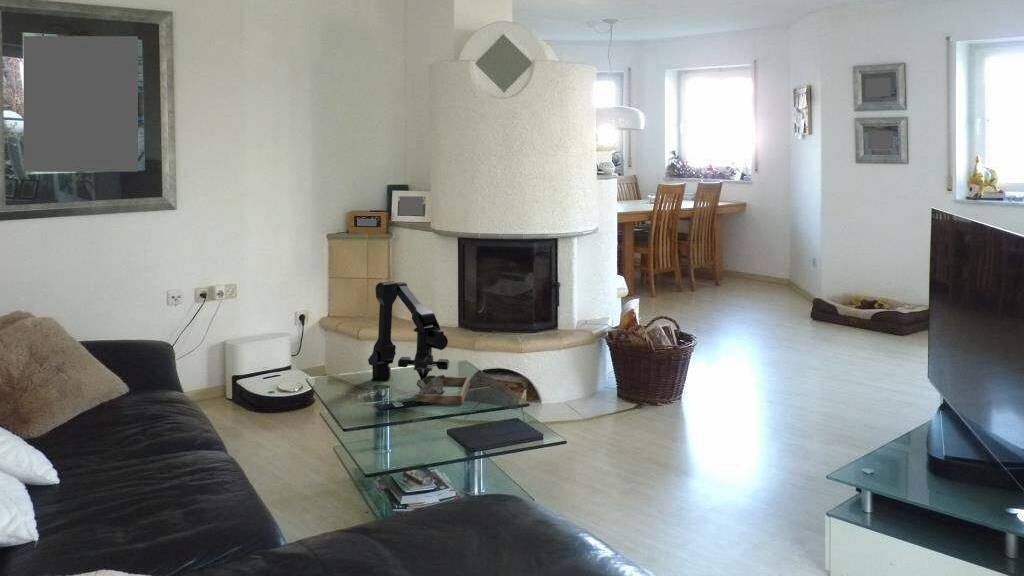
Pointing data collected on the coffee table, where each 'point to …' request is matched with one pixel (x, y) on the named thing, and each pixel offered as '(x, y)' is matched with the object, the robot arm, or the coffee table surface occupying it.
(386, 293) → the robot arm
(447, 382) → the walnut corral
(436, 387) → the decorative stone
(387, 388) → the coffee table surface
